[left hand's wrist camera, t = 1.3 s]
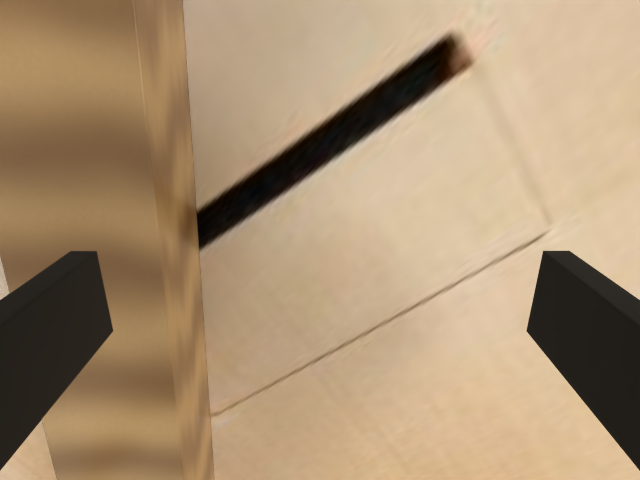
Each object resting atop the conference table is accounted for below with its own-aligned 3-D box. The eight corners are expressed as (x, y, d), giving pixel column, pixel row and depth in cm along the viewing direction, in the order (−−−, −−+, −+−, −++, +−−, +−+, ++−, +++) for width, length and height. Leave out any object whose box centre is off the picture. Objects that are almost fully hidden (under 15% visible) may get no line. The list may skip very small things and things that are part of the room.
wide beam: (20, -76, 24) (-101, -138, 17) (178, -68, 24) (121, -126, 17) (129, 535, 43) (93, 624, 36) (218, 538, 43) (198, 627, 36)
